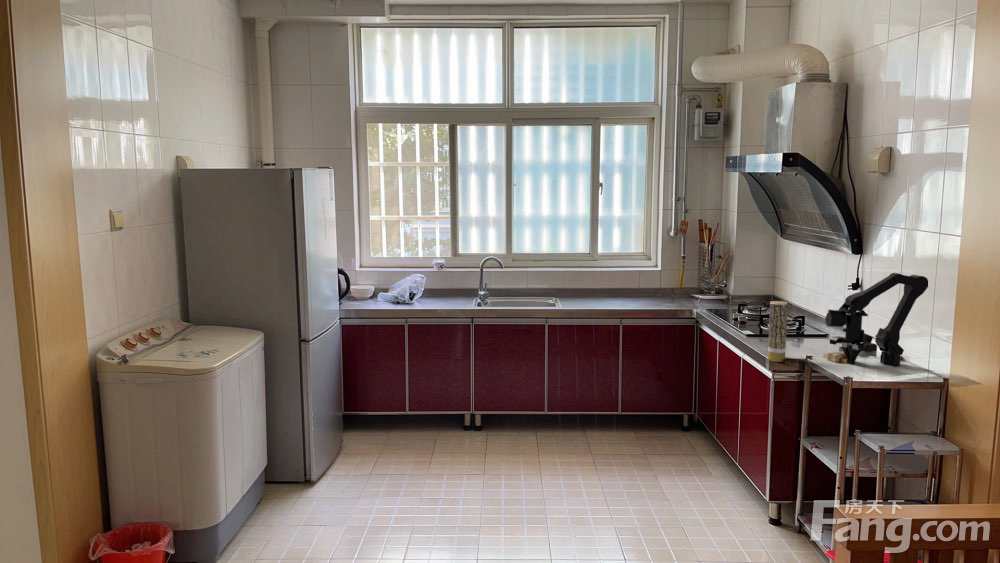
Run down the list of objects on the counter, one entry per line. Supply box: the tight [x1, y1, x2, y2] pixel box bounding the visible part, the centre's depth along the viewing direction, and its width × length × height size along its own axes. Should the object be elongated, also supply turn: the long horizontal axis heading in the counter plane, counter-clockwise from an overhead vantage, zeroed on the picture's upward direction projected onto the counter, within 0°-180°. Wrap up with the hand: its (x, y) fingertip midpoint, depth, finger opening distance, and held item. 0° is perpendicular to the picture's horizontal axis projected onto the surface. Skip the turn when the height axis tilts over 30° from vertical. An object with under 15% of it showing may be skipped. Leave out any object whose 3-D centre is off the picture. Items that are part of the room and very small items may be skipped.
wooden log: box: [767, 300, 788, 363], centre depth 293 cm, size 7×7×25 cm
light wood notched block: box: [826, 351, 846, 364], centre depth 287 cm, size 4×9×5 cm, turn 109°
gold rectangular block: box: [822, 353, 849, 364], centre depth 288 cm, size 12×4×4 cm, turn 20°
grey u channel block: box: [838, 346, 878, 358], centre depth 302 cm, size 12×8×4 cm
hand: (851, 364), depth 281 cm, fingers closed
